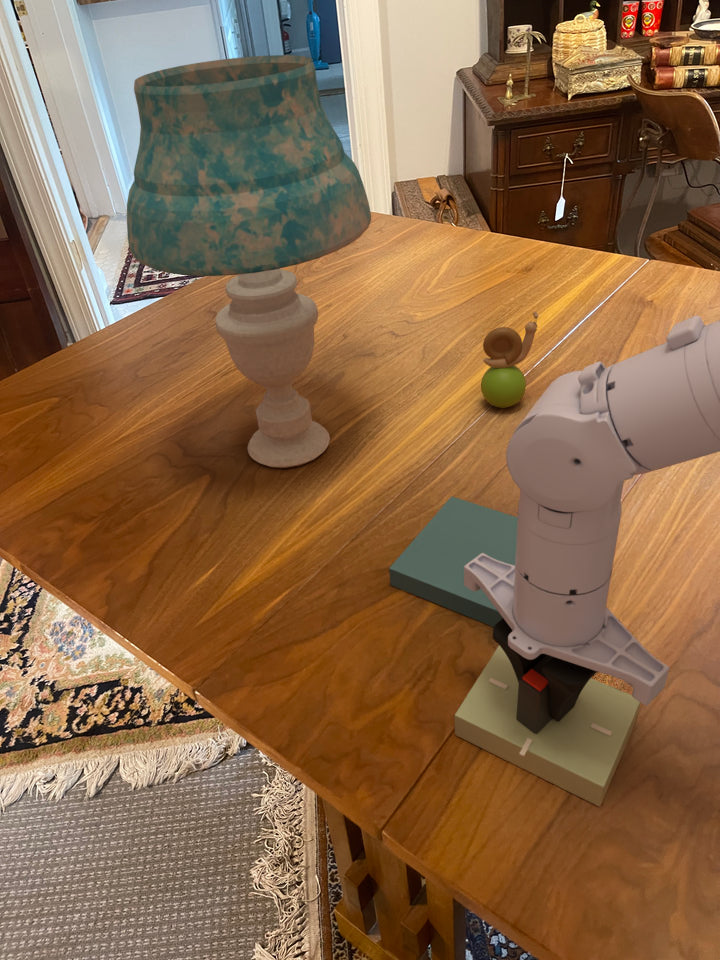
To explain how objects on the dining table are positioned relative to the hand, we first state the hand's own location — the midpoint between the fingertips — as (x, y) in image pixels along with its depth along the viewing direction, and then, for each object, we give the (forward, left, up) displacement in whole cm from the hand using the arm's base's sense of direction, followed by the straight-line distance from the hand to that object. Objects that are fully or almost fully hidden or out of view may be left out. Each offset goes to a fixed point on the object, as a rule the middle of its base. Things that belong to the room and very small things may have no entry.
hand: (548, 700), depth 53 cm
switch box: (+9, -12, -3) cm, 16 cm away
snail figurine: (+22, -41, -3) cm, 47 cm away
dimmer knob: (0, 0, -1) cm, 1 cm away
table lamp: (+41, -21, -3) cm, 46 cm away
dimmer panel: (0, 0, -3) cm, 3 cm away
